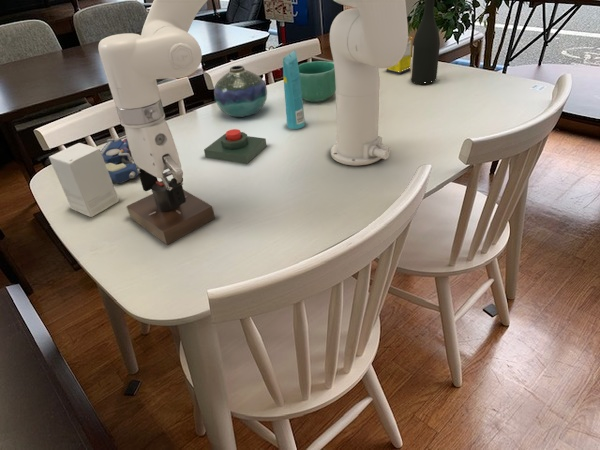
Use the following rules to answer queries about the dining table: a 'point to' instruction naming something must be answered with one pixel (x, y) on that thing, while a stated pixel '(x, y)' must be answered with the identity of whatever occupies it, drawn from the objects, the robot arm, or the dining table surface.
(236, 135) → the button
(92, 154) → the white packaging box
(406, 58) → the supplement box
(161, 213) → the panel
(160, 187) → the dial
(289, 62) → the tube
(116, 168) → the spray gun
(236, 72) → the vase
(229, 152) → the button block
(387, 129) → the dining table surface
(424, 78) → the wine bottle
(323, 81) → the mug
